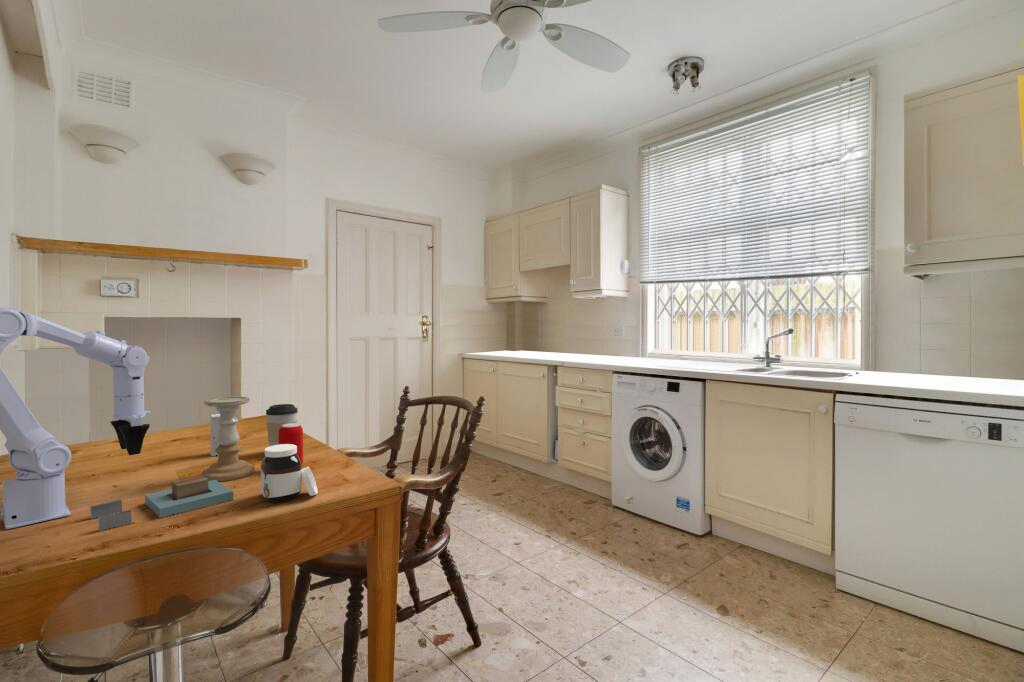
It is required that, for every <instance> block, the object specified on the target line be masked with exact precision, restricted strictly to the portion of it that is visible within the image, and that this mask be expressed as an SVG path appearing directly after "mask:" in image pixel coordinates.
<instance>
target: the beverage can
mask: <svg viewBox="0 0 1024 682" xmlns="http://www.w3.org/2000/svg"><path fill="white" fill-rule="evenodd" d="M280 444H293V445H296V446H297V453H296V454H297V455H298V457H299V459H300V462H301V466H302V465H303V463H304V428H303V427H302V425H301V424H300V423H298V422H297V423H289V424H284V425H282V426H281V427H280V429H279V445H280Z"/></svg>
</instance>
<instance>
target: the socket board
mask: <svg viewBox="0 0 1024 682" xmlns="http://www.w3.org/2000/svg"><path fill="white" fill-rule="evenodd" d="M233 499H234V490H232V489H230V488H229V487H227V486H226V485H224V484H223V483H221V481H216V480H211V481H208V493H205V494H201V495H196V496H192V497H188V498H183V499H179V500H175V501H173V500H172V488H171V489H165V490H162V491H157V492H152V493H146V494H145V495H144V502H145V505H146V506H147V507H148V508H149V509H150V510H151V511H152V510H153V511H152V512H153V513H154V512H155V513H154V514H155V515H156V516H157V515H158V516H159V517H160V518H159V517H158V516H157V517H158V518H159V519H162V518H161V517H164V518H166V517H165V516H168V517H170V516H169V515H171V516H173V515H172V514H175V515H178V514H177V513H179V514H182V513H181V512H183V513H186V512H185V511H187V512H191V511H195V510H199V509H203V508H206V506H207V507H210V505H211V506H215V505H218V503H219V504H222V503H221V502H223V503H226V502H225V501H227V502H230V501H229V500H231V501H234V500H233ZM214 504H215V505H214ZM202 507H203V508H202ZM198 508H199V509H198ZM194 509H195V510H194ZM190 510H191V511H190Z"/></svg>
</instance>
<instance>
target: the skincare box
mask: <svg viewBox="0 0 1024 682" xmlns="http://www.w3.org/2000/svg"><path fill="white" fill-rule="evenodd" d="M219 418H220V413H214V414H210V457H214V456H215V457H216V455H217V456H219V455H218V454H217V453H216V452H215V450H216V448H217V447H218V446H219V444H217V442H216V438H217V435H218V431H219V424H217V420H218V419H219Z"/></svg>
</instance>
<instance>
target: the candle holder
mask: <svg viewBox="0 0 1024 682" xmlns="http://www.w3.org/2000/svg"><path fill="white" fill-rule="evenodd" d="M249 402H250V398H249V396H248V397H247V396H240V395H239V396H235V395H234V396H219V397H213V398H208V399H206V400H205V399H204V402H203V405H204V406H207V407H209V408H210V407H211V408H212V407H213V408H215V410H216V411H217V412H218V414H220V418H219V419H218V420H217V424H219V431H218V435H217V438H216V442H217V444H219V446H218V447H217V448H216V450H215V452H216V453H217V454H218V455H217V456H218V458H217V462H215V463H213V464H211V465H210V466H209V467H207V468H205V469H204V470H202V472H201V473H200V476H202V475H203V476H204V477H206V478H207V479H208V481H211V480H216V481H218V482H226V481H227V480H228V481H233V480H237V479H238V480H239V479H243V478H245V477H248V476H250V475H252V474H253V473H254V472H255V466H254V464H253V463H249V462H247V461H246V460H243V459H239V453H238V452H240V450H242V449H241V448H242V447H241V446H240V445H239V442H240V438H241V437H240V434H239V431H238V428H237V423H238V422H239V419H238V417H236V411H237V410H238V409H239V406H242V405H246V404H248V403H249Z"/></svg>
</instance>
